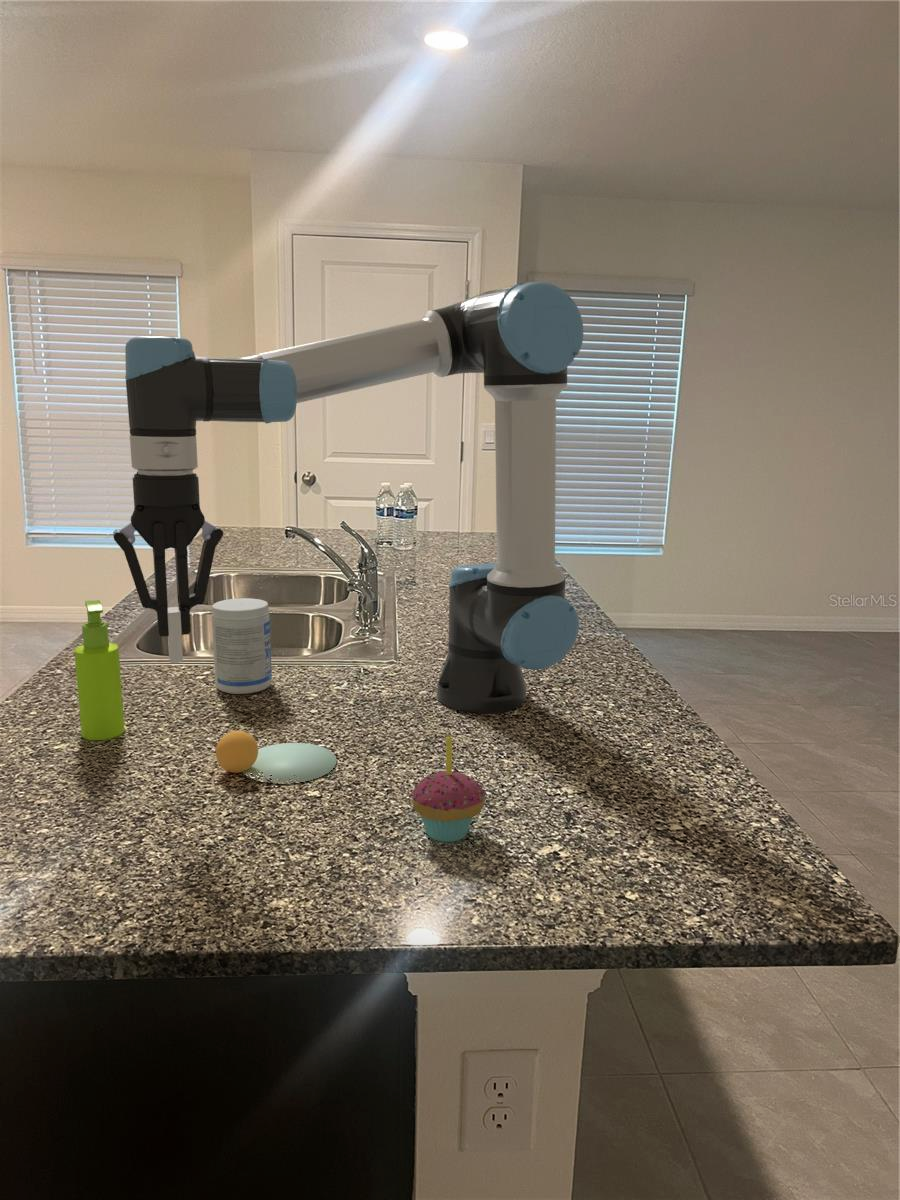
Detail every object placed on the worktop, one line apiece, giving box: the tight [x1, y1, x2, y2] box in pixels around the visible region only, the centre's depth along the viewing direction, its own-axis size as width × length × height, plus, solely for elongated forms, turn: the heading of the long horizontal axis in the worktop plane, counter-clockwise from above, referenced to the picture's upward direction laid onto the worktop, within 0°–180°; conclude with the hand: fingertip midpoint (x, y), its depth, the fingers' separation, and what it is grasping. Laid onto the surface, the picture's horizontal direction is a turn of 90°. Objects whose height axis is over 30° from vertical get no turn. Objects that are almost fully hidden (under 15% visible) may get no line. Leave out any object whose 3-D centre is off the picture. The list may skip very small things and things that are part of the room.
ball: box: [215, 730, 259, 774], centre depth 111 cm, size 6×6×6 cm
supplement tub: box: [211, 597, 273, 695], centre depth 142 cm, size 10×10×15 cm
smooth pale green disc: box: [242, 742, 337, 783], centre depth 115 cm, size 13×13×1 cm
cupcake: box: [411, 729, 486, 843], centre depth 96 cm, size 9×8×12 cm
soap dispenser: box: [73, 599, 125, 741], centre depth 120 cm, size 6×7×20 cm
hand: (175, 659), depth 105 cm, fingers closed
